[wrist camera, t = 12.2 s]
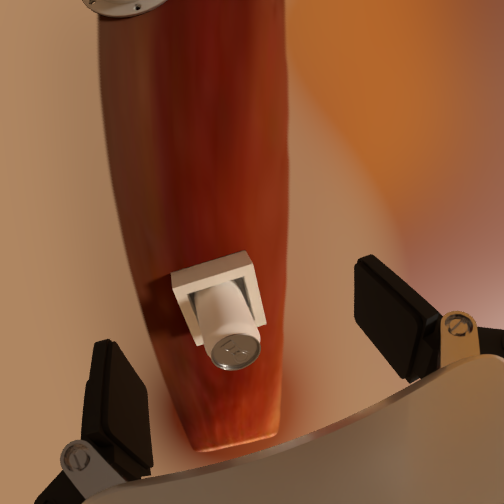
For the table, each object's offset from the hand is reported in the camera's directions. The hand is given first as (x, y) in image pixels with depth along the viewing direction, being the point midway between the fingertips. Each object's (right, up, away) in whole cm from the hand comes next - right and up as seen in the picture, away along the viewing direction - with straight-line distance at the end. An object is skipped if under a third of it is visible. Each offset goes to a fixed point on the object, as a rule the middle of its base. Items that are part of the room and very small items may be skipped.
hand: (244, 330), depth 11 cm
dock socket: (-5, -3, +33) cm, 34 cm away
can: (-5, -3, +33) cm, 33 cm away
